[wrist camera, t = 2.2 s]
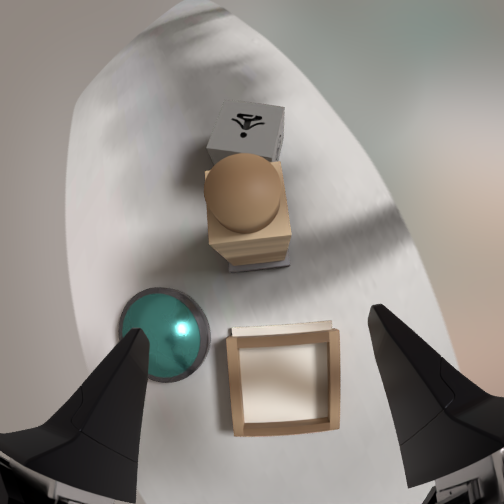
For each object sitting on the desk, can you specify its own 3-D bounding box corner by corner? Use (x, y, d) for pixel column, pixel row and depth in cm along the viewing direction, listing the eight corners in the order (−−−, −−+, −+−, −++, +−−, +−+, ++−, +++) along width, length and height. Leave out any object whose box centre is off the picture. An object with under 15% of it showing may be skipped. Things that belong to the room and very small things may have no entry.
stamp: (289, 266, 22) (304, 233, 11) (230, 272, 23) (191, 246, 12) (282, 210, 23) (288, 135, 12) (226, 216, 24) (188, 149, 12)
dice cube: (283, 139, 25) (284, 107, 20) (272, 185, 24) (271, 157, 19) (232, 131, 25) (224, 99, 20) (218, 175, 24) (206, 147, 19)
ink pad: (229, 349, 22) (226, 352, 20) (158, 392, 21) (151, 397, 20) (176, 270, 23) (169, 267, 21) (112, 318, 23) (103, 319, 21)
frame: (335, 427, 20) (339, 435, 18) (237, 434, 20) (234, 443, 18) (334, 319, 21) (338, 321, 20) (228, 327, 22) (225, 329, 20)
